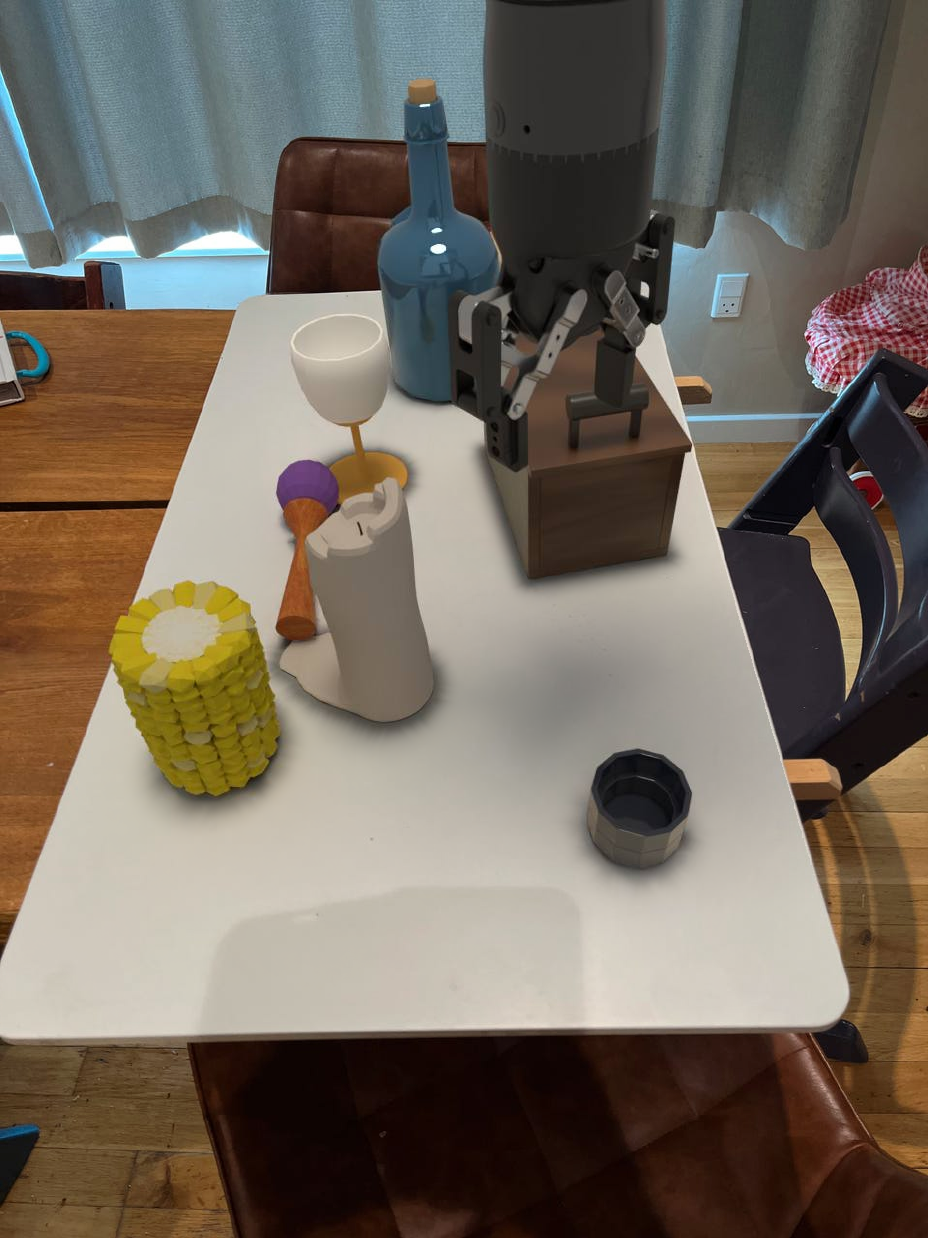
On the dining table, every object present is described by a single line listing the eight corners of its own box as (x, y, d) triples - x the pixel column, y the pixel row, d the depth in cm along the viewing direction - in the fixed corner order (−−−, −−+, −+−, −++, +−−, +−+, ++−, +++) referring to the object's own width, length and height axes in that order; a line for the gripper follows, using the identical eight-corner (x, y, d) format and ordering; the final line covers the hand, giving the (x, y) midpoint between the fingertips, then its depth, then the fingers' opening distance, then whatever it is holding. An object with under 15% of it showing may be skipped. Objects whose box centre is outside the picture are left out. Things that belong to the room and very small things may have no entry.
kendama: (246, 614, 64) (268, 455, 76) (277, 655, 68) (294, 499, 81) (315, 598, 63) (326, 440, 75) (342, 641, 67) (348, 485, 80)
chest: (667, 555, 71) (686, 446, 62) (528, 579, 70) (528, 472, 62) (602, 430, 85) (611, 326, 76) (484, 449, 84) (479, 346, 75)
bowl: (661, 779, 56) (670, 741, 53) (693, 860, 52) (706, 825, 48) (577, 796, 56) (581, 759, 52) (603, 878, 52) (609, 844, 48)
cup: (425, 470, 82) (408, 326, 70) (369, 519, 77) (340, 373, 65) (360, 444, 86) (333, 302, 74) (303, 489, 81) (264, 346, 69)
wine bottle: (521, 387, 91) (517, 85, 69) (414, 418, 88) (375, 114, 66) (474, 335, 100) (458, 52, 78) (376, 361, 97) (330, 76, 75)
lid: (691, 452, 62) (702, 393, 58) (530, 478, 61) (530, 420, 57) (611, 325, 76) (615, 271, 72) (479, 345, 75) (476, 291, 71)
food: (169, 728, 64) (293, 708, 65) (148, 841, 54) (294, 814, 56) (109, 568, 55) (254, 548, 56) (73, 669, 46) (248, 642, 47)
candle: (307, 619, 69) (245, 426, 54) (448, 666, 64) (424, 470, 50) (260, 679, 65) (179, 489, 50) (407, 734, 60) (367, 542, 45)
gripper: (514, 187, 29) (521, 519, 41) (744, 87, 35) (691, 404, 47) (389, 145, 33) (429, 459, 45) (614, 62, 39) (596, 360, 51)
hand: (562, 431), depth 46 cm, fingers open, 8 cm apart
